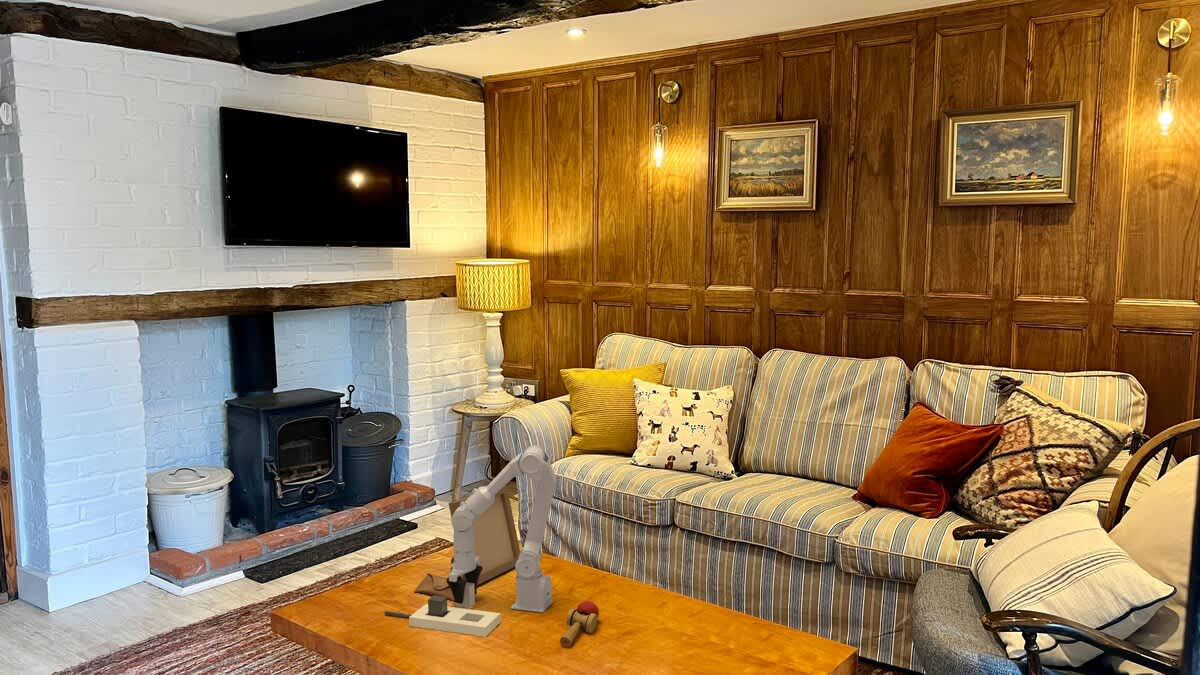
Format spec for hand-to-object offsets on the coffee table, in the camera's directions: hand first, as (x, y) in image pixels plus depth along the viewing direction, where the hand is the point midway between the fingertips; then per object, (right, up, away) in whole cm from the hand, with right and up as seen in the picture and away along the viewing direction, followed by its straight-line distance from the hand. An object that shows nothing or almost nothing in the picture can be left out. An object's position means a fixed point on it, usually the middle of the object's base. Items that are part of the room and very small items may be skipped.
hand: (465, 597), depth 243 cm
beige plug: (0, -2, 0) cm, 2 cm away
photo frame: (+1, 0, +25) cm, 25 cm away
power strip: (-6, -3, -10) cm, 12 cm away
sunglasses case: (-8, -2, +9) cm, 12 cm away
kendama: (+32, -4, -18) cm, 37 cm away
